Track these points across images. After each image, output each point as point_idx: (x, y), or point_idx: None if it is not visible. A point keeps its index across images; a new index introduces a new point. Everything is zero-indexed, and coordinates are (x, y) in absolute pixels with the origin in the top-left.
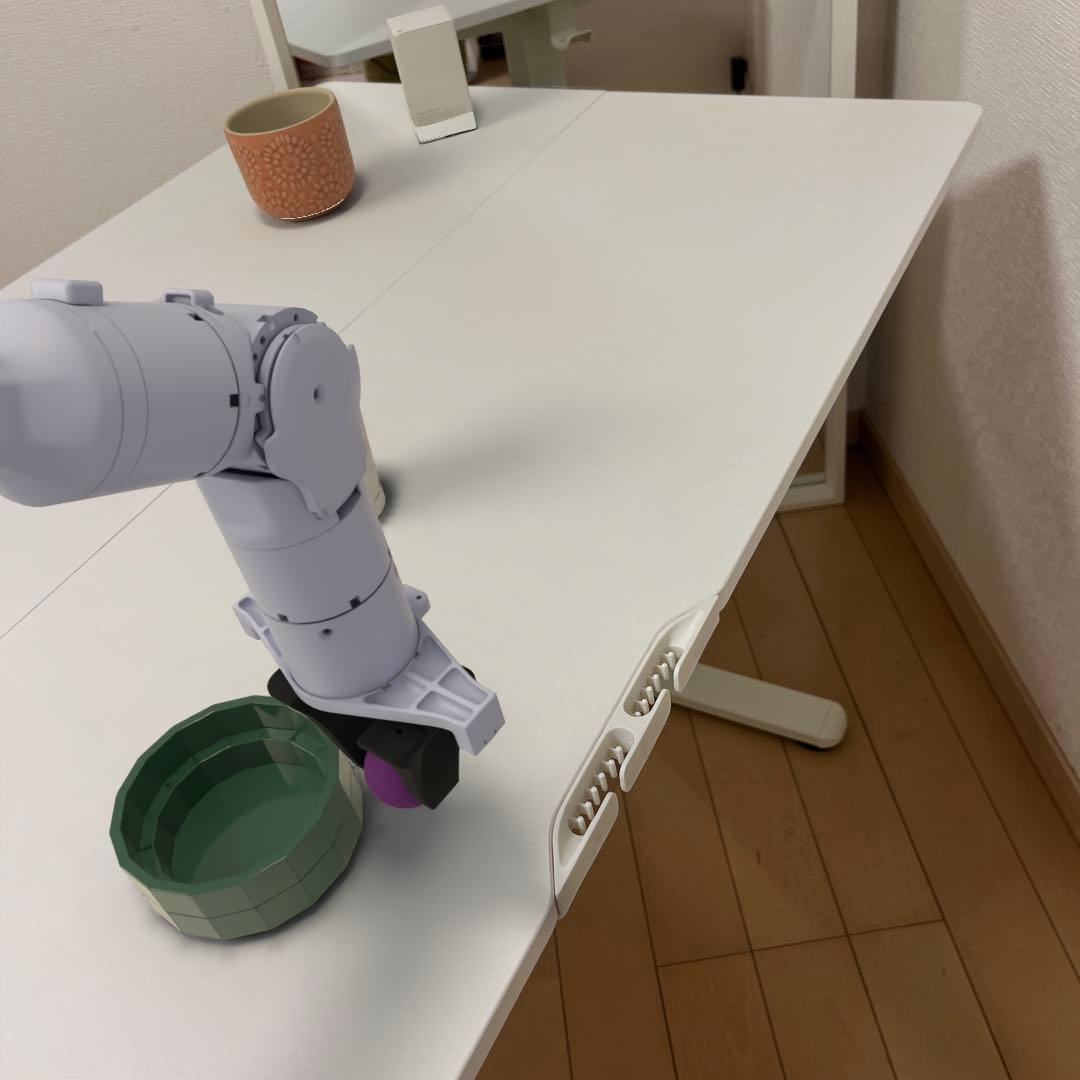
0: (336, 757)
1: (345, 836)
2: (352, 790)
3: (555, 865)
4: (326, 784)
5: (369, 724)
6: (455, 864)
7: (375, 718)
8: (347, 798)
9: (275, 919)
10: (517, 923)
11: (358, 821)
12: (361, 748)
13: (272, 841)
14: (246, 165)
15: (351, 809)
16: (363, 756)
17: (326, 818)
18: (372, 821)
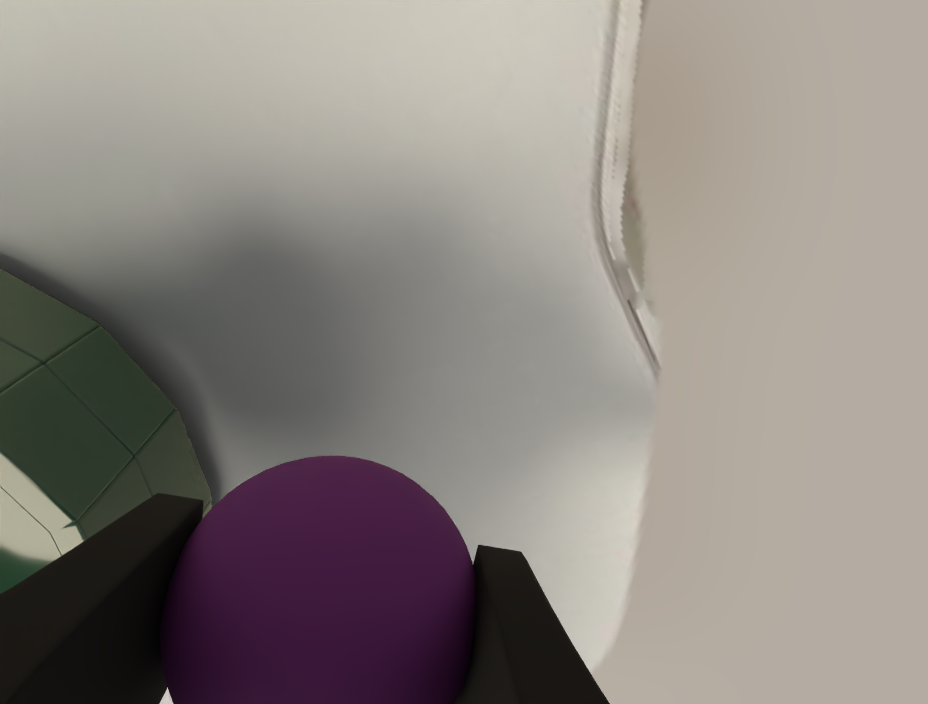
0: (5, 460)
1: (176, 495)
2: (102, 408)
3: (644, 323)
4: (55, 543)
5: (107, 693)
6: (426, 392)
7: (109, 663)
8: (122, 472)
9: None
10: (613, 458)
11: (166, 425)
12: (141, 697)
13: (7, 497)
14: None
15: (144, 458)
16: (162, 674)
17: None
18: (177, 362)
